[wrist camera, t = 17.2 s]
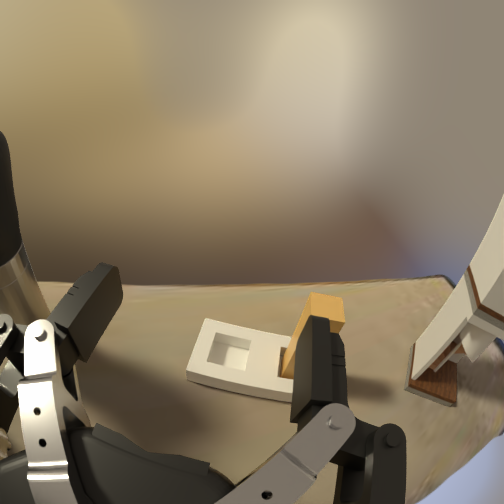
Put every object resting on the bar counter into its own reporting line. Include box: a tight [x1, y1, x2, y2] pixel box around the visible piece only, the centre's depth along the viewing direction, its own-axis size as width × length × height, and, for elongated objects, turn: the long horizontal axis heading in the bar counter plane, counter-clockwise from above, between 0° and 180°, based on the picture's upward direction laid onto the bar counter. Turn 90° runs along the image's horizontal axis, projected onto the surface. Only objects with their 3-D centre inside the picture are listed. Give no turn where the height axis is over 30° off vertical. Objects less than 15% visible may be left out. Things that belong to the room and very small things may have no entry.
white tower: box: [404, 194, 504, 407], centre depth 30 cm, size 11×11×35 cm
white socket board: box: [186, 318, 293, 402], centre depth 38 cm, size 20×10×3 cm, turn 81°
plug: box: [280, 292, 345, 379], centre depth 35 cm, size 4×4×15 cm
